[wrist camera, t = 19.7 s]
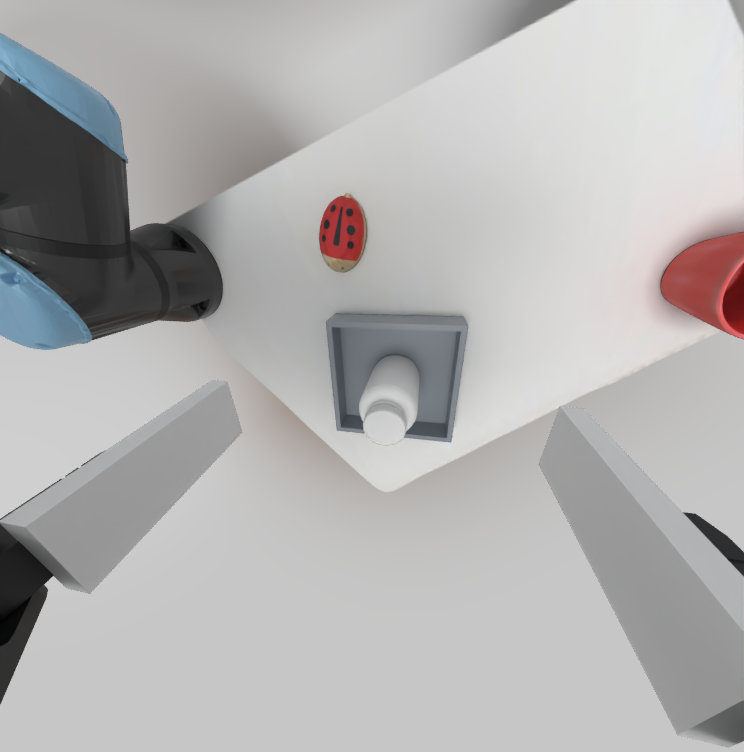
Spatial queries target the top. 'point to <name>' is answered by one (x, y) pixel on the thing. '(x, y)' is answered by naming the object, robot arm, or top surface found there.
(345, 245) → the ladybug figurine
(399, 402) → the pill bottle
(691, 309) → the flower pot
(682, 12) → the top surface
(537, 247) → the top surface
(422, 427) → the tray
